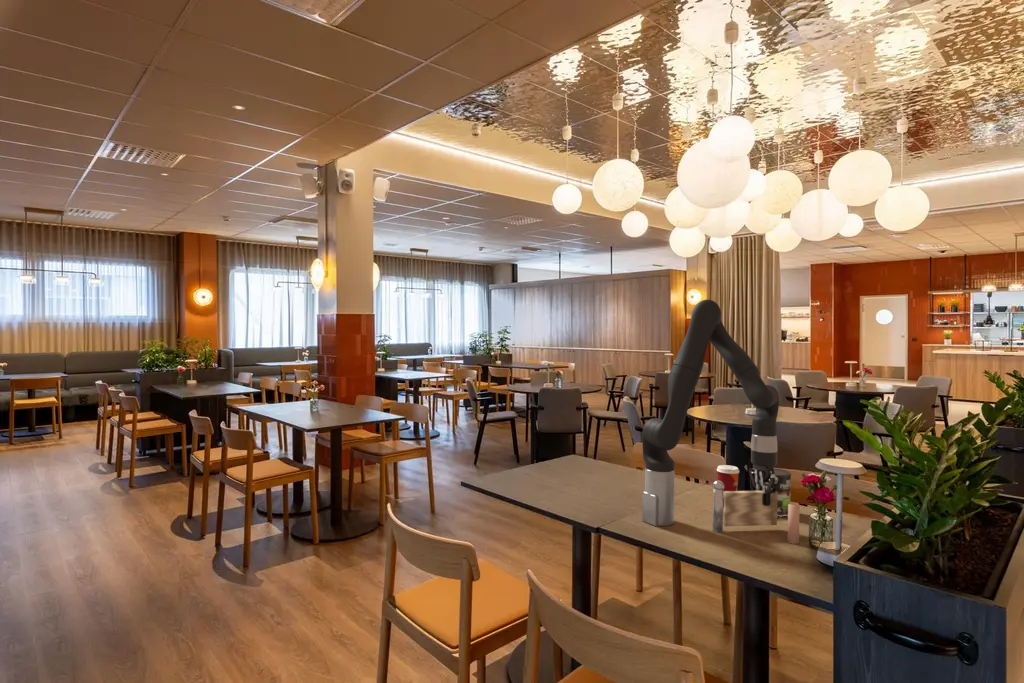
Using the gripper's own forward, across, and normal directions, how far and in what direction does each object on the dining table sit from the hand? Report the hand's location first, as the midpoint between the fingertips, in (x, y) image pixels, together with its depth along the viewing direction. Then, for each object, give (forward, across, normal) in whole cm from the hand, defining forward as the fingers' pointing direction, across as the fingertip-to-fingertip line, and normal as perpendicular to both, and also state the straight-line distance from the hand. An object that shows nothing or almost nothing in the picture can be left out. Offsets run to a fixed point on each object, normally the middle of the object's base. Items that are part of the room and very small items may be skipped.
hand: (763, 503), depth 175 cm
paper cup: (+8, +23, -1) cm, 24 cm away
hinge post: (+8, +1, +15) cm, 17 cm away
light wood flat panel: (+7, 0, +4) cm, 8 cm away
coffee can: (+8, +15, -14) cm, 22 cm away
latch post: (+8, -11, -2) cm, 14 cm away
